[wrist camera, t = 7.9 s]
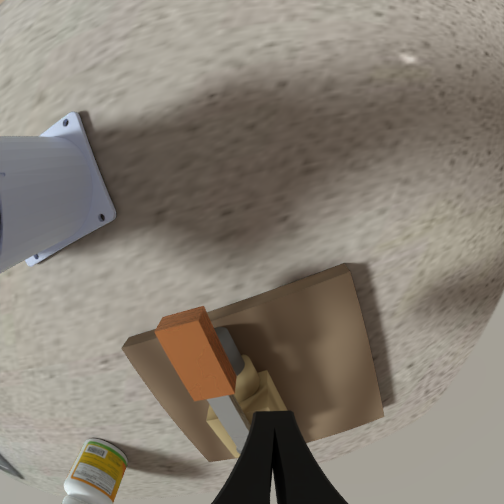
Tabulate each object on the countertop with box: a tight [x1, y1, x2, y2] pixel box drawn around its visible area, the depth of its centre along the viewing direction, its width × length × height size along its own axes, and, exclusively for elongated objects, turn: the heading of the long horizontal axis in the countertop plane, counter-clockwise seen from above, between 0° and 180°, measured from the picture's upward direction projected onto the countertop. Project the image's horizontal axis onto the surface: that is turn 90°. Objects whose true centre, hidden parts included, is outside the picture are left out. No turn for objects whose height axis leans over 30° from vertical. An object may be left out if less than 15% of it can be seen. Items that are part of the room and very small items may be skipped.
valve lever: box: [154, 306, 251, 454], centre depth 15 cm, size 10×2×1 cm, turn 19°
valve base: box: [122, 263, 384, 462], centre depth 19 cm, size 16×14×5 cm
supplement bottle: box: [62, 438, 128, 504], centre depth 21 cm, size 5×5×10 cm
